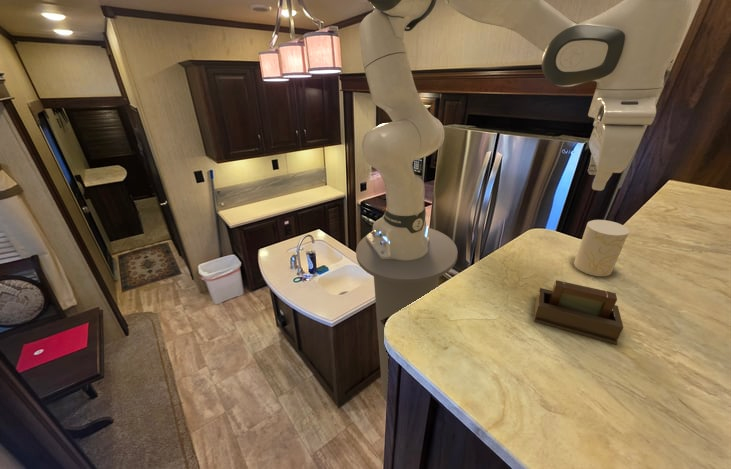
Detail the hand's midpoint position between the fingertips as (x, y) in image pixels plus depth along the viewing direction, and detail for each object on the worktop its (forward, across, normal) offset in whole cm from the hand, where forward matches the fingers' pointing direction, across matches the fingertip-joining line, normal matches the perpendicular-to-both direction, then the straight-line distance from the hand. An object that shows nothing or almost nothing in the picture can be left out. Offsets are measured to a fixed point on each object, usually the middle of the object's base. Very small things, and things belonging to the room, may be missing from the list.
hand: (594, 181), depth 58 cm
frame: (+26, +12, +3) cm, 29 cm away
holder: (+27, +11, +3) cm, 29 cm away
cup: (+27, -12, +8) cm, 31 cm away
